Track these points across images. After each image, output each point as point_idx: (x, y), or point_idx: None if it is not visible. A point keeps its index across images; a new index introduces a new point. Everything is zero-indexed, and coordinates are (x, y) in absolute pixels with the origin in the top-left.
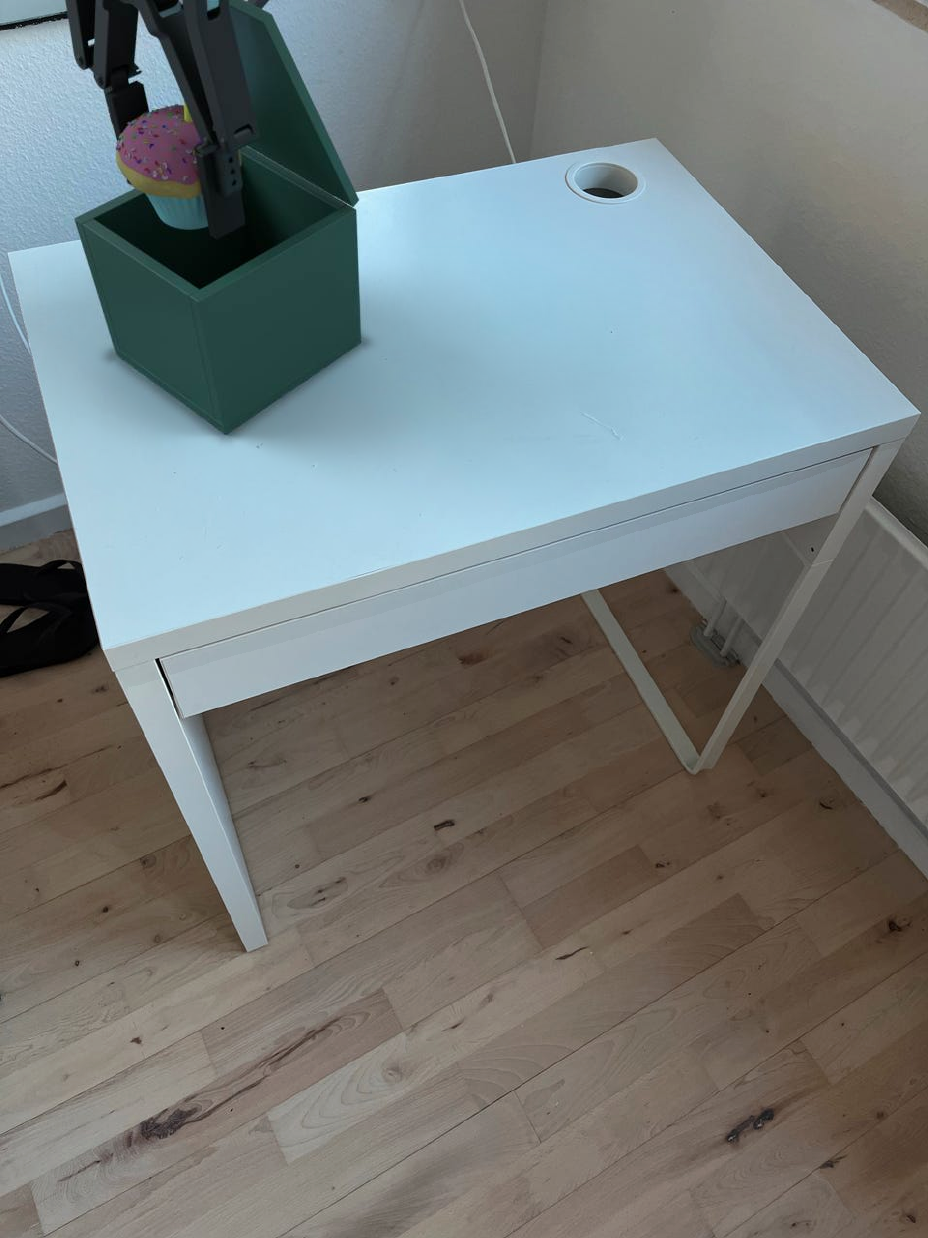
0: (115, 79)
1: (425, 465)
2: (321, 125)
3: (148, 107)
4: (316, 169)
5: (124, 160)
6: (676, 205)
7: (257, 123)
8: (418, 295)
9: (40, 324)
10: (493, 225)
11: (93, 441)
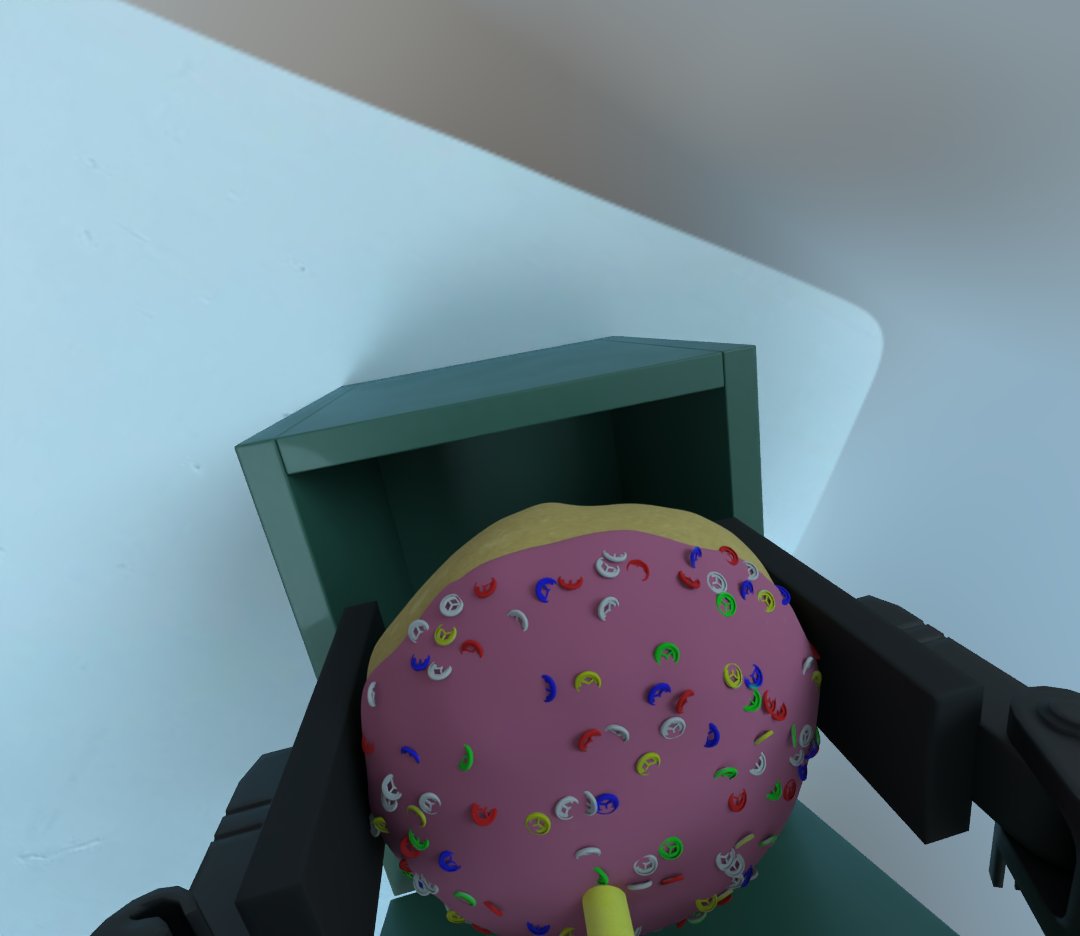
0: (1020, 781)
1: (108, 608)
2: None
3: (847, 757)
4: (464, 934)
5: (620, 540)
6: None
7: None
8: None
9: (753, 270)
10: None
11: (450, 192)
